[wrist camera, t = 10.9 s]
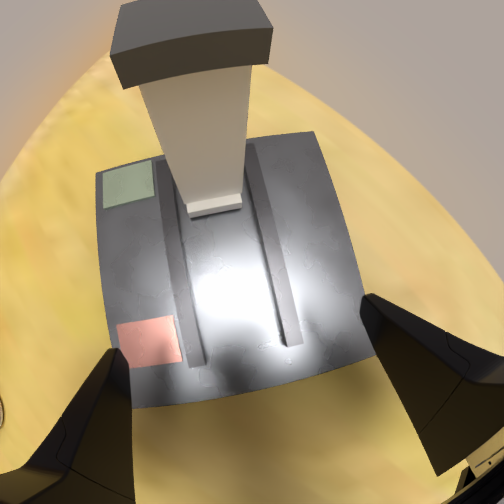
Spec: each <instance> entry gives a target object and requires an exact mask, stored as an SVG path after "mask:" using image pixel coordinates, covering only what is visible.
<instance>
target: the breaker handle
mask: <svg viewBox="0 0 504 504" xmlns="http://www.w3.org/2000/svg"><path fill="white" fill-rule="evenodd" d="M272 33H273V26H272V25H271V23H270V21H269V19H268V18H267V16H266V14H265V12H264V11H263V9H262V7H261V6H260V4H259V2H258V1H257V0H138V1H134V2H131V3H127V4H123V5H121V7H120V11H119V15H118V19H117V23H116V27H115V31H114V36H113V41H112V46H111V51H110V58H111V60H112V63H113V65H114V68H115V70H116V73H117V75H118V78H119V80H120V83H121V85H122V87H123V90H124V89H127V88H130V87H134V86H139V88H140V91H141V94H142V97H143V99H144V102H145V105H146V108H147V110H148V113H149V116H150V119H151V121H152V124H153V127H154V129H155V132H156V134H157V137H158V140H159V142H160V145H161V147H162V150H163V153H164V155H165V158H166V160H167V163H168V165H169V168H170V170H171V173H172V175H173V178H174V180H175V183H176V185H177V188H178V190H179V193H180V195H181V197H182V200H183V202H184V204H186V205H187V212H188V215H189V217H190V218H193V217H198V216H203V215H208V214H213V213H218V212H223V211H228V210H233V209H239V208H242V199H241V195H240V193H242V188H243V173H244V159H245V146H246V132H247V119H248V107H249V94H250V82H251V70H252V65H260V64H268V60H269V54H270V46H271V40H272Z"/></svg>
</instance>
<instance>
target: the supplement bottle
mask: <svg viewBox="0 0 504 504" xmlns="http://www.w3.org/2000/svg"><path fill="white" fill-rule="evenodd" d="M2 420H3V411H2V406H1V402H0V427H1V425H2Z"/></svg>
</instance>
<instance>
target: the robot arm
mask: <svg viewBox="0 0 504 504" xmlns="http://www.w3.org/2000/svg"><path fill="white" fill-rule="evenodd" d="M359 315H360V318H361V320H362V323H363V325H364V328H365V330H366V332H367V335H368V337H369V339H370V342H371V344H372V347H373V349H374V351H375V353H376V355H377V357H378V358H379V360H380V362H381V364H382V366H383V368H384V369H385V371H386V373H387V375H388V377H389V379H390V381H391V383H392V385H393V386H394V388H395V390H396V392H397V394H398V396H399V398H400V400H401V402H402V404H403V406H404V408H405V410H406V412H407V414H408V416H409V418H410V420H411V422H412V424H413V426H414V428H415V430H416V432H417V434H418V437H419V439H420V441H421V443H422V445H423V447H424V449H425V451H426V454H427V456H428V458H429V460H430V462H431V465H432V467H433V469H434V471H435V473H436V475H437V477H438V476H440V475H441V474H443V473H444V472H446V471H447V470H449V469H450V468H452V467H453V466H455V465H456V464H458V463H459V462H461V461H462V460H463V459H466V460H467V462H468V464H469V466H468V467H466V468H465V469H464V470H462V472H461V476H460V479H459V482H458V485H457V488H456V491H455V494H454V495H453V496H452V497H450V498H449V499H447V500H446V501H444V502H443V503H441V504H504V357H503V356H499V355H497V354H494V353H492V352H489V351H487V350H485V349H482V348H480V347H477V346H475V345H473V344H471V343H468V342H466V341H464V340H462V339H460V338H458V337H456V336H454V335H452V334H450V333H448V332H445V331H444V330H443V329H441V328H439V327H437V326H435V325H433V324H431V323H429V322H427V321H426V320H424V319H422V318H420V317H418V316H416V315H414V314H412V313H410V312H408V311H406V310H405V309H403V308H401V307H399V306H397V305H395V304H393V303H391V302H389V301H387V300H385V299H383V298H381V297H379V296H377V295H376V294H373V293H369V294H366V295H363V296H362V298H361V304H360V310H359ZM0 504H136V502H135V490H134V477H133V457H132V397H131V385H130V371H129V363H128V361H127V359H126V358H125V356H124V355H123V353H122V352H121V350H120V349H119V348H110V349H108V350H107V351H106V352H105V354H104V355H103V356H102V358H101V359H100V361H99V362H98V363H97V365H96V366H95V367H94V369H93V370H92V372H91V373H90V374H89V376H88V377H87V379H86V380H85V382H84V383H83V384H82V386H81V387H80V389H79V390H78V392H77V393H76V394H75V396H74V397H73V399H72V400H71V402H70V403H69V405H68V406H67V408H66V409H65V411H64V412H63V414H62V417H60V418H59V420H58V421H57V423H56V424H55V426H54V427H53V428H52V430H51V431H50V433H49V434H48V436H47V437H46V438H45V439H44V441H43V442H42V443H41V445H40V446H39V447H38V448H37V450H36V451H35V452H34V454H33V455H32V456H31V457H30V459H29V460H28V461H27V462H26V463H25V464H24V465H23V466H22V467H20V468H18V469H16V470H13V471H10V472H7V473H4V474H0Z"/></svg>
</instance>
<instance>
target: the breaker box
mask: <svg viewBox="0 0 504 504" xmlns="http://www.w3.org/2000/svg"><path fill="white" fill-rule="evenodd" d="M240 195H241V199H242V208H239V209H233V210H228V211H223V212H218V213H213V214H208V215H203V216H198V217H193V218H190V217H189V215H188V212H187V205H186V204H184V202H183V200H182V197H181V195H180V193H179V190H178V188H177V185H176V183H175V180H174V178H173V175H172V173H171V170H170V168H169V165H168V163H167V160H166V158H165V155H160V156H156V157H152V158H148V159H144V160H140V161H136V162H132V163H128V164H125V165H121V166H118V167H114V168H111V169H107V170H104V171H100V172H97V173H96V225H97V242H98V255H99V266H100V275H101V284H102V291H103V299H104V305H105V312H106V318H107V324H108V329H109V335H110V340H111V345H112V348H119V349H120V350H121V352H122V353H123V355H124V356H125V358H126V359H127V361H128V363H129V371H130V385H131V397H132V409H136V408H148V407H159V406H168V405H176V404H184V403H191V402H198V401H204V400H211V399H216V398H222V397H228V396H233V395H238V394H243V393H248V392H252V391H257V390H261V389H266V388H270V387H274V386H278V385H282V384H286V383H290V382H293V381H297V380H301V379H304V378H308V377H311V376H315V375H318V374H321V373H325V372H328V371H331V370H334V369H337V368H340V367H344V366H346V365H349V364H352V363H355V362H358V361H361V360H364V359H366V358H369V357H372V356H375V355H376V353H375V351H374V349H373V347H372V344H371V342H370V339H369V337H368V335H367V332H366V330H365V328H364V325H363V323H362V320H361V318H360V315H359V310H360V304H361V298H362V296H363V295H365V293H364V289H363V285H362V281H361V277H360V273H359V269H358V265H357V261H356V258H355V254H354V250H353V247H352V243H351V240H350V236H349V233H348V229H347V226H346V223H345V220H344V216H343V213H342V210H341V207H340V204H339V201H338V197H337V194H336V191H335V188H334V186H333V183H332V180H331V177H330V174H329V171H328V168H327V165H326V163H325V160H324V157H323V155H322V152H321V149H320V147H319V144H318V141H317V139H316V136H315V134H314V131H311V132H300V133H290V134H281V135H272V136H264V137H257V138H250V139H246V146H245V159H244V173H243V188H242V193H240Z"/></svg>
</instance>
